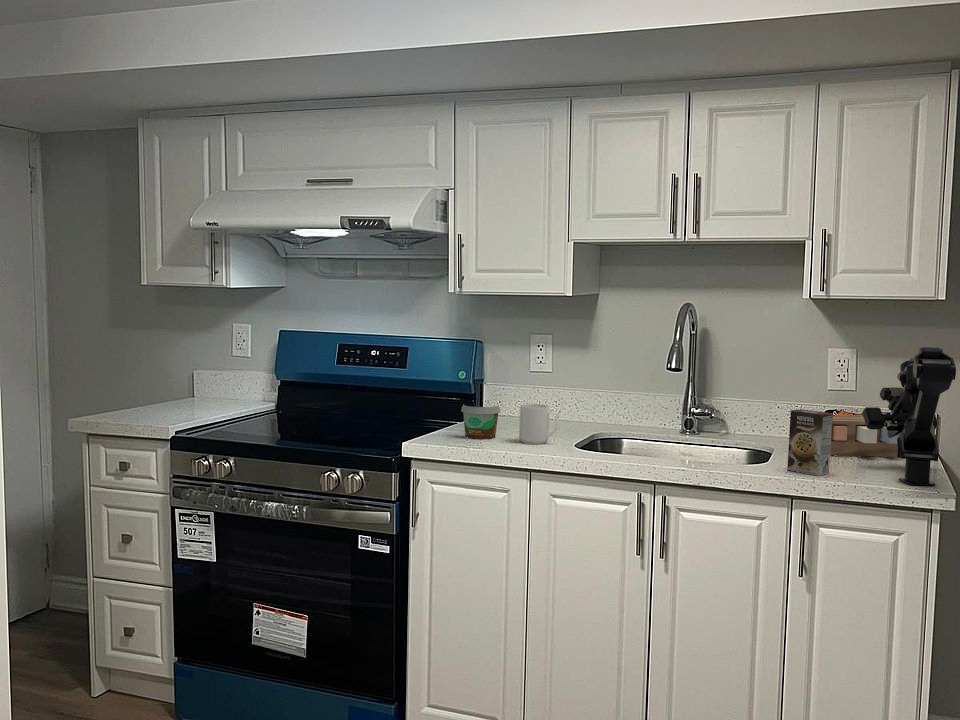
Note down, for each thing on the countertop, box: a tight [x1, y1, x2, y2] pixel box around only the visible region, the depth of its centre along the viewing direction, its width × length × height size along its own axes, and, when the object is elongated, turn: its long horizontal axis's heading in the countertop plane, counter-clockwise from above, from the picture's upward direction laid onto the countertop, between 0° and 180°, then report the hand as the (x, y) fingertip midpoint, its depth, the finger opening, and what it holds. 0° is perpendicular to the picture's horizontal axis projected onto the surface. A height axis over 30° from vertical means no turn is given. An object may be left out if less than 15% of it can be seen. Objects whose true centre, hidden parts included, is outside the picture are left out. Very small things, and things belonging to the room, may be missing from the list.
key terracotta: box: [831, 424, 847, 441], centre depth 274 cm, size 6×4×4 cm, turn 1°
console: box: [830, 414, 897, 458], centre depth 279 cm, size 12×22×10 cm, turn 91°
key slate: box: [879, 427, 899, 444], centre depth 271 cm, size 6×4×4 cm, turn 1°
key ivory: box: [856, 426, 877, 443], centre depth 271 cm, size 6×4×4 cm, turn 1°
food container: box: [460, 403, 501, 440], centre depth 289 cm, size 12×6×10 cm, turn 80°
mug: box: [518, 403, 560, 445], centre depth 284 cm, size 12×9×11 cm
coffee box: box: [786, 409, 834, 477], centre depth 247 cm, size 9×6×16 cm
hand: (889, 436), depth 261 cm, fingers closed
